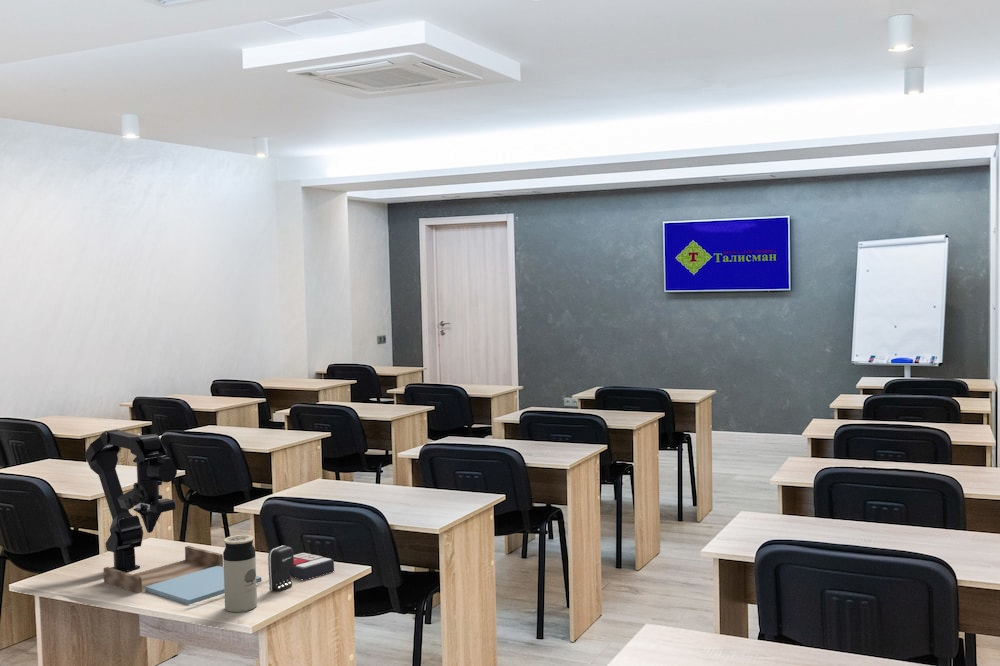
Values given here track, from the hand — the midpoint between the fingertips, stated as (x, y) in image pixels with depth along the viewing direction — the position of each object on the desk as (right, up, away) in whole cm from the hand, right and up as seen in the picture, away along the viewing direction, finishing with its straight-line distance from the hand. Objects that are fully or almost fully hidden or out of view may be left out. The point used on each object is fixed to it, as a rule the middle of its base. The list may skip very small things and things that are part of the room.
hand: (149, 532), depth 260 cm
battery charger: (+41, -13, -13) cm, 45 cm away
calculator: (+44, -13, +3) cm, 46 cm away
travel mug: (+34, -14, -27) cm, 46 cm away
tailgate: (+12, -12, -6) cm, 18 cm away
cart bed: (+5, -13, -1) cm, 14 cm away
